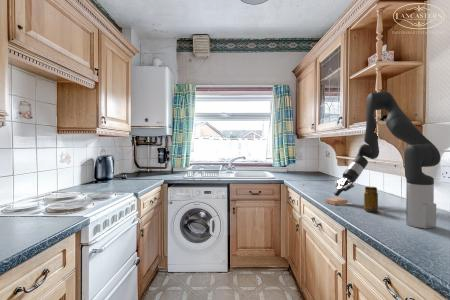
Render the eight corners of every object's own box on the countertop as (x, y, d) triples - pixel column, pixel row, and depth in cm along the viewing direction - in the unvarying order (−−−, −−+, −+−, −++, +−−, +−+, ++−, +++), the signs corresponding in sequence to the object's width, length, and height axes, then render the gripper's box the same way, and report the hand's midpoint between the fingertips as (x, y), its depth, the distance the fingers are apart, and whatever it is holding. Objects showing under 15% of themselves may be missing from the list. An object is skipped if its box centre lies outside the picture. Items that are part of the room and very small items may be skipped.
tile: (347, 199, 152) (334, 201, 149) (347, 203, 152) (334, 205, 149) (338, 197, 158) (325, 198, 155) (338, 201, 158) (325, 202, 155)
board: (352, 204, 152) (352, 203, 152) (339, 205, 149) (339, 205, 149) (340, 201, 160) (340, 200, 160) (328, 202, 157) (328, 201, 157)
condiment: (367, 208, 142) (367, 185, 142) (384, 211, 135) (384, 187, 135) (360, 211, 137) (360, 187, 137) (378, 214, 131) (378, 189, 130)
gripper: (340, 166, 162) (323, 188, 159) (358, 168, 150) (340, 192, 146) (347, 175, 164) (331, 197, 161) (366, 178, 152) (348, 201, 148)
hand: (335, 195), depth 153 cm, fingers closed
